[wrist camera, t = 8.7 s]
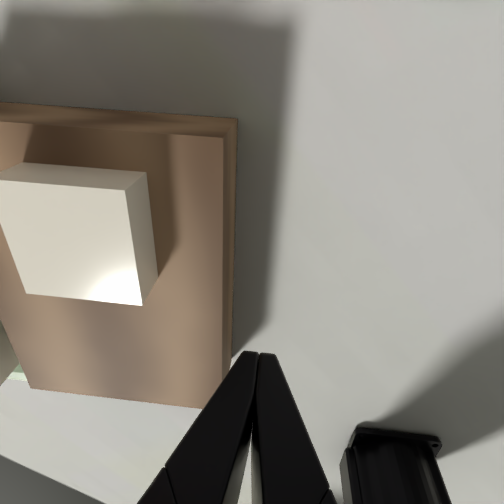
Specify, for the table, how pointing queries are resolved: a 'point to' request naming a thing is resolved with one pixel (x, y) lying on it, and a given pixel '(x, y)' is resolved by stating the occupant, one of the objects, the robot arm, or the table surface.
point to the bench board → (166, 249)
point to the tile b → (79, 231)
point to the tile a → (6, 356)
